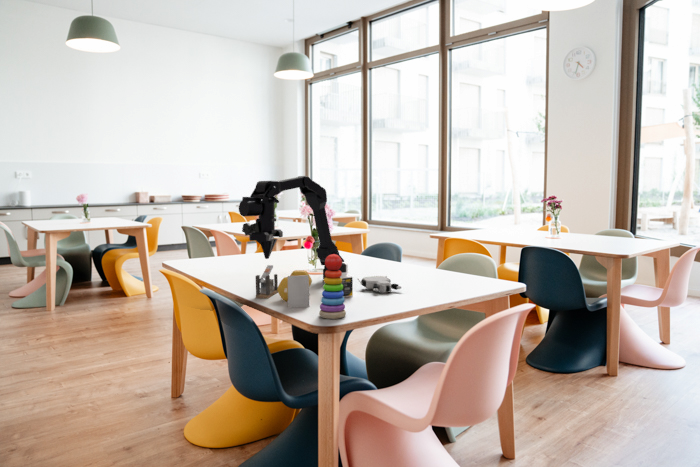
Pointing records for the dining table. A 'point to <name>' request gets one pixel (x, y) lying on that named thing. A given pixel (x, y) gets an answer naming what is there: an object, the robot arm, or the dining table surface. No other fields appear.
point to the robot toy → (378, 284)
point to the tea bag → (298, 291)
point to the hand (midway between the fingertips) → (266, 258)
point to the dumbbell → (283, 284)
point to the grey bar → (266, 273)
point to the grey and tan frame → (266, 287)
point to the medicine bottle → (346, 281)
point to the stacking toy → (332, 290)
